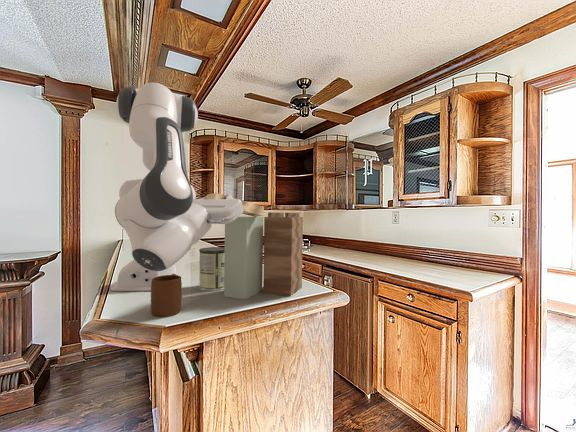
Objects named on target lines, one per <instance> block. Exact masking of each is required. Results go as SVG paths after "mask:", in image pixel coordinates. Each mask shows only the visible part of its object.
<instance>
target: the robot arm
mask: <svg viewBox="0 0 576 432" xmlns="http://www.w3.org/2000/svg"><path fill="white" fill-rule="evenodd" d="M116 109H117V112H118V115H119V117H120V119H121V120H122V121H123V122H125V123H126V124H128V128H129V129H128V130H129V137H130V138H131V139H132V141H133V142H134V143H135V144H136V145H137V146H138V147H139V148H141V149H142V163H143V165H144V167H145V168H146V169H147V170H149V172H148V173H147V175H145V177H143V179H141V178H137V179H130V180H125V181H124V182H123V183H122V185H121V186H120V188H119V191H118V194H119V195H118V196H119V200H118V201H117V202H116V203H115V208H114V215H115V219H116V221H117V223H118V224H119V225H120V226H121V227H122V228H123V229H124V230H125V232H126V235H127V236H128V238H129V241H130V245H131V256H132V258H133V260H131V261H130V262H129V263H127V264H126V265H125V266H123V267H122V268H121V269H120V270H119V273H118V276H117V280H116V281H114V282H113V283H112V284H110V285H109V290H110V291H112V292H114V291H115V292H117V291H118V292H123V291H124V292H125V291H128V292H136V291H137V292H145V291H147V292H149V291H150V292H151V282H152V278H154V277H158V276H164V275H172V274H176V275H178V274H177V273H178V272H177V266H176V263H179V261H180V260H181V259H182V258H183V257H184V256H185V255H187V254H188V253H189V251H190V249H191V247H192V246H193V245H195V244H197V243H198V242H199V241H200V240H201V239H202V238H203V237H204V236H205V235H206V234H207V233H208V232H209V231H210V230H211V228H212V225H225V224H228V223H231V222H232V221H234V220H235V219H236V218H238V217H239V216H242V215H243V214H242V213H243V211H244V209H243V205H242V202H241V199H239V198H235V199H233V198H234V197H233V195H232V194H225V196H224V199H206V197H207V195H205V196H203V197H201V198H198V199H197V198H196V197H197V195H196V190H195V188H194V187H193V185H191V183H190V182H191V181H190V179H189V176H188V171H187V164H186V155H185V154H186V153H185V145H184V144H185V143H184V137H183V133H185V132H190V131H192V130H194V128H195V126H196V124H197V122H198V118H199V117H198V115H199V112H198V108H197V104H196V102H195V101H194V99H192V98H190V97H188V96H185V95H179V94H176V93H173V92H172V91H171V89H169V88H168V87H167V86H165V85H164V84H161V83H158V82H148V83H145V84H143V85H141V86H140V88H137V87H136V86H125V87H123V88H122V89H120V90H119V93H118V95H117V97H116Z"/></svg>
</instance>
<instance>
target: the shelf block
mask: <svg viewBox="0 0 576 432" xmlns="http://www.w3.org/2000/svg"><path fill="white" fill-rule="evenodd" d="M224 248H225V257H224V289H223V297H225V298H231V299H232V298H233V299H238V300H239V299H241V300H248V299H249V298H251V297H252V296H254V295H256V294H258V293H260V292H261V291H263V275H264V216H257V217H254V216H250V215H246V216H243V215H240V216H239V217H238V218H236V219H235V220H234V221H232V222H231V223H228V224H224Z"/></svg>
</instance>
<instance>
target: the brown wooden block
mask: <svg viewBox="0 0 576 432" xmlns="http://www.w3.org/2000/svg"><path fill="white" fill-rule="evenodd" d="M303 219H304V218H303V216H300V212H285V213H284V212H267V216H263V279H262V291H263V293H264V294H268V295H269V294H271V295H276V296H278V295H280V296H285V295H286V296H287V297H292V296H293V295H295V294H296V293H297V292H298V291H299V290H300V289H302V287H303V286H302V285H303V233H304V231H303V230H304V229H303V228H304V227H303V225H304V224H303V223H304V220H303ZM291 295H292V296H291Z"/></svg>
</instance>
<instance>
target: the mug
mask: <svg viewBox="0 0 576 432" xmlns="http://www.w3.org/2000/svg"><path fill="white" fill-rule="evenodd" d="M182 284H183V282H182V276H181V275H178V274H177V275H176V274H172V275H164V276H158V277H154V278H152V282H151V291H150V314H151V315H152V316H154V317H157V318H158V317H159V318H163V317H166V318H167V317H172V316H175V315H177V314H179V313H180V311H181V310H182V297H183V296H182V295H183V293H182V291H183V290H182V287H183V286H182Z"/></svg>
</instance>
